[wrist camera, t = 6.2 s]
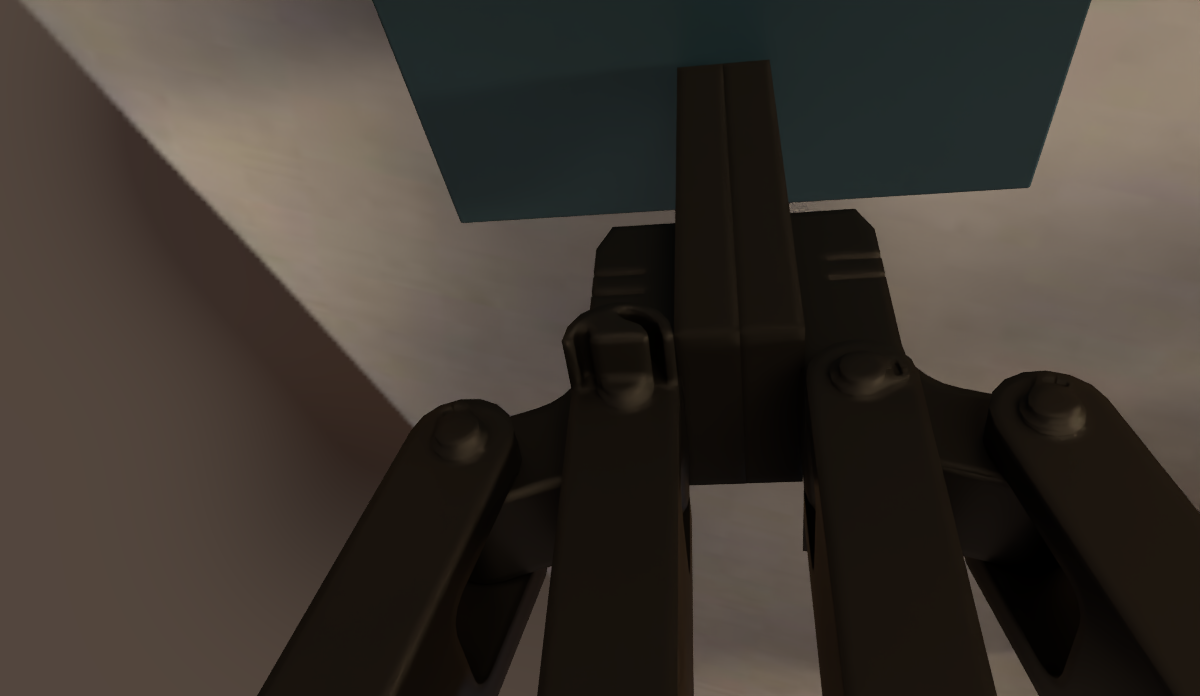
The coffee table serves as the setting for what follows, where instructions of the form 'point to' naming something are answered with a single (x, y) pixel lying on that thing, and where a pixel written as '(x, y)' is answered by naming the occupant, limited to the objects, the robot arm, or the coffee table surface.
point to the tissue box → (715, 36)
